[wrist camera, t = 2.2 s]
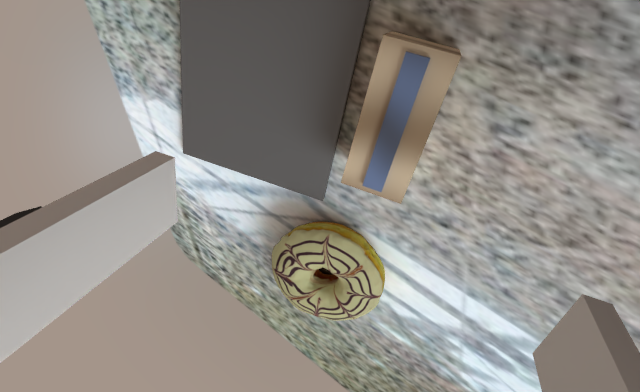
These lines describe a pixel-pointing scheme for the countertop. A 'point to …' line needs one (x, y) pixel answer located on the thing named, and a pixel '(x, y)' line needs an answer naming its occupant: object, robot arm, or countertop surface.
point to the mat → (269, 85)
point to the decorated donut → (340, 259)
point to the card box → (398, 113)
